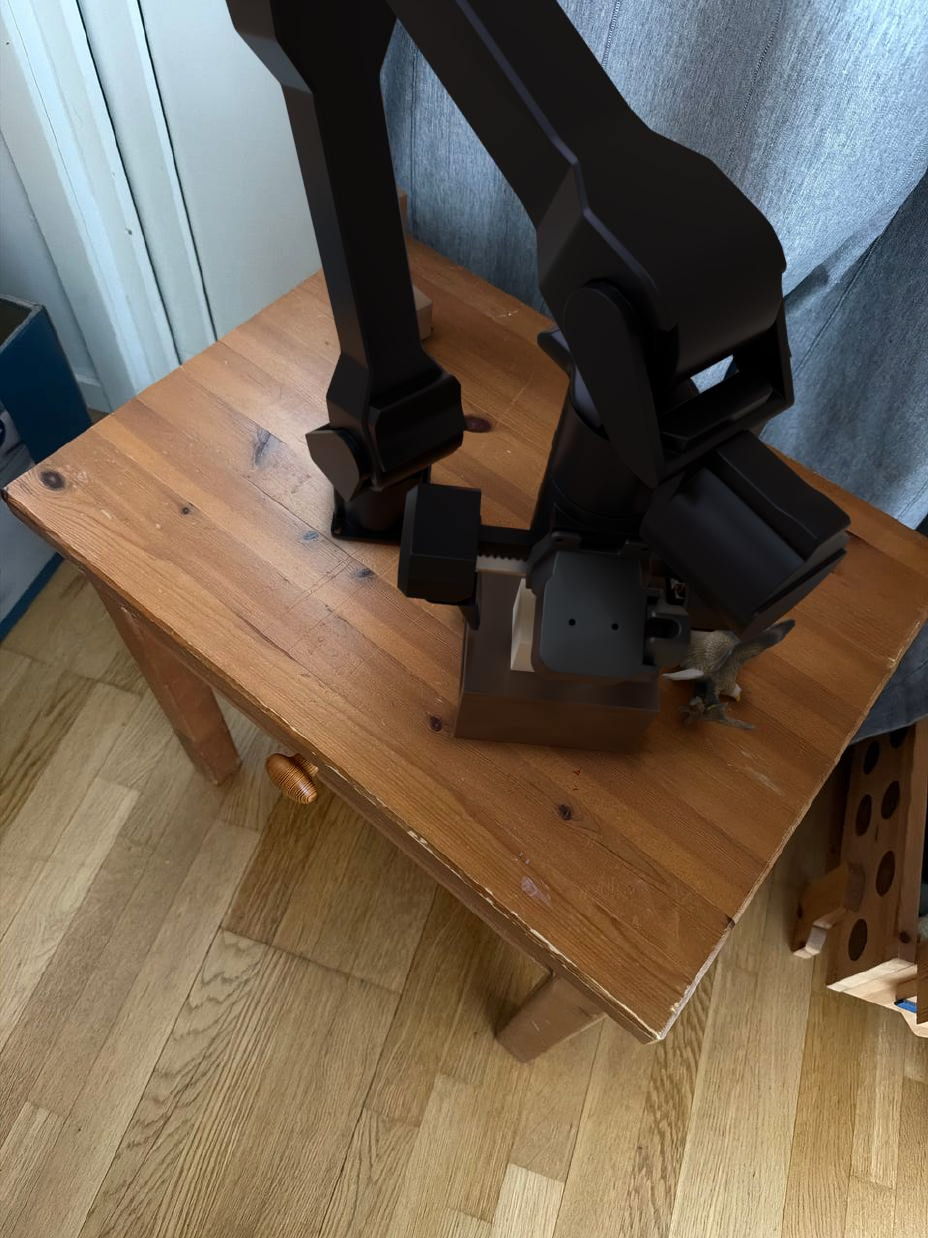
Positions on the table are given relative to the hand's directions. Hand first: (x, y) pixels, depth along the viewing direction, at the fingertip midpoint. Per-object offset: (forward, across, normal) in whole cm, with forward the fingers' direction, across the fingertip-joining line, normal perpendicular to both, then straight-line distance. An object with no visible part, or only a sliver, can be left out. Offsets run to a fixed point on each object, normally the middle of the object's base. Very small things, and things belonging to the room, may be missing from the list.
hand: (549, 631), depth 55 cm
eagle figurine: (+8, +13, +2) cm, 16 cm away
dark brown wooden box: (+8, +1, +1) cm, 8 cm away
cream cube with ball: (+1, 0, 0) cm, 1 cm away
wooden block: (+8, -13, +32) cm, 35 cm away
